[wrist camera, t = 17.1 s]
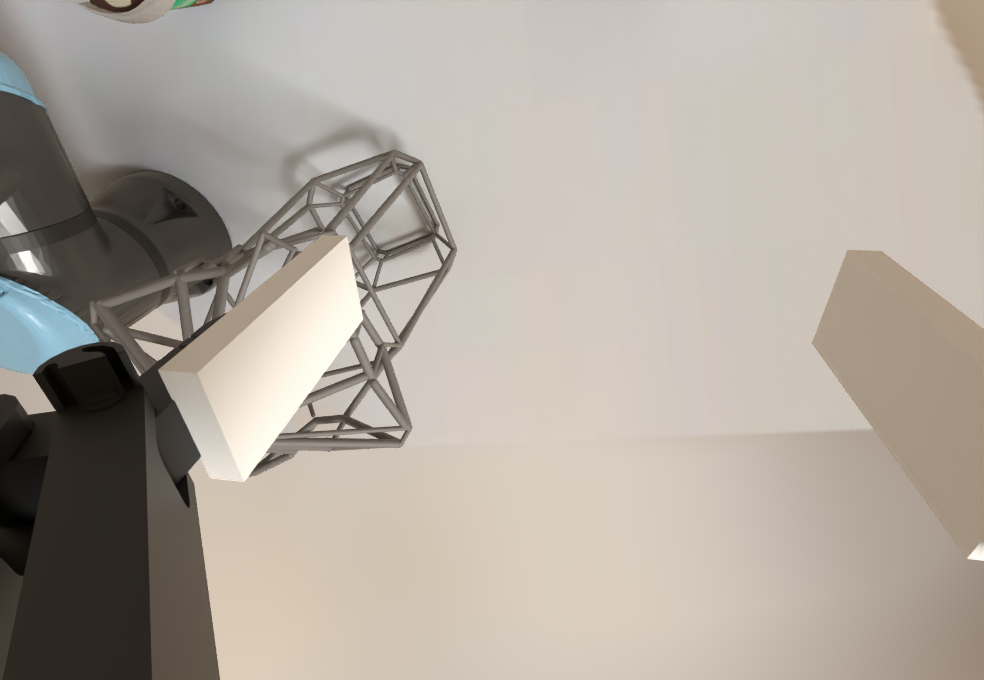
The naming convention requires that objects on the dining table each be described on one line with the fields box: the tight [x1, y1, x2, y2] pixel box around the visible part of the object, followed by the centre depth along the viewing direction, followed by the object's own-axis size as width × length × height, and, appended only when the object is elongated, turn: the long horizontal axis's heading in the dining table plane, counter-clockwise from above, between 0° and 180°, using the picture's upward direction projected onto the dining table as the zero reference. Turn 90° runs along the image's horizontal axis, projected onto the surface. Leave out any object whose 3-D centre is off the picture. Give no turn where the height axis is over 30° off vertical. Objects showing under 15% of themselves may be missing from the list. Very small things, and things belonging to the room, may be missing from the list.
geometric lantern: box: [90, 150, 457, 477], centre depth 40 cm, size 16×16×35 cm
